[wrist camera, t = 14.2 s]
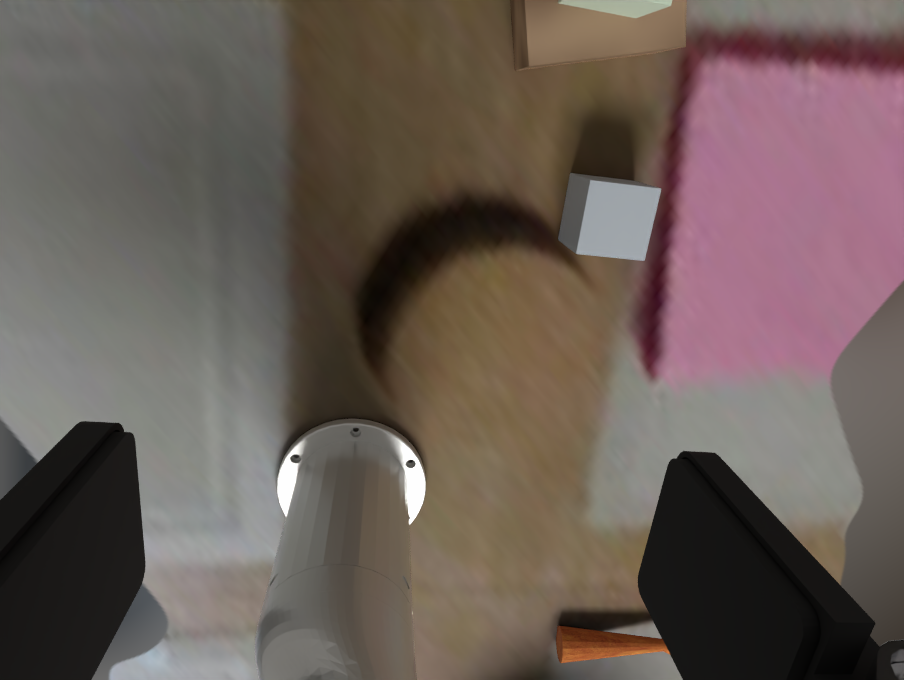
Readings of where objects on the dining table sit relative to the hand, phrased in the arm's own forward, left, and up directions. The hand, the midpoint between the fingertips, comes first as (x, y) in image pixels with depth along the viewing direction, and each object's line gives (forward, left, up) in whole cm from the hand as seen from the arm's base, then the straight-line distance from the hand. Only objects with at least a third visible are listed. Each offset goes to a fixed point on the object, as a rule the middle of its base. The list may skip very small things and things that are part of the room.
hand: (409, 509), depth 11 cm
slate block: (+1, -15, -36) cm, 39 cm away
